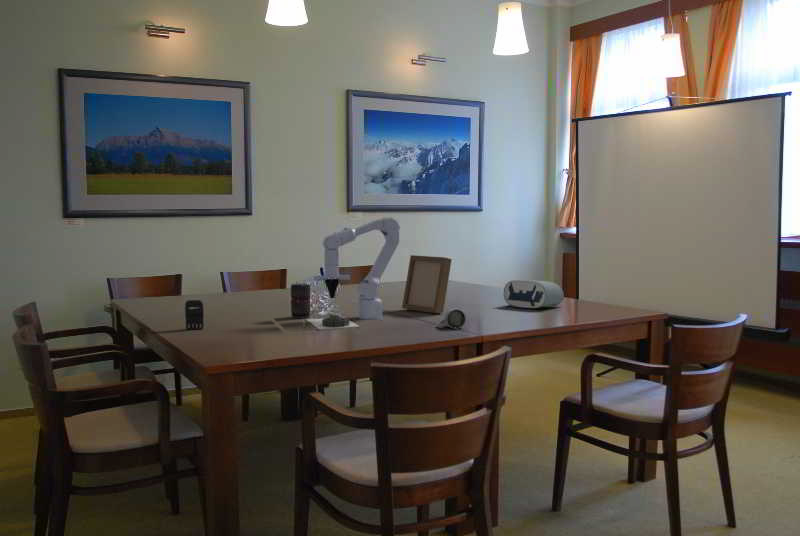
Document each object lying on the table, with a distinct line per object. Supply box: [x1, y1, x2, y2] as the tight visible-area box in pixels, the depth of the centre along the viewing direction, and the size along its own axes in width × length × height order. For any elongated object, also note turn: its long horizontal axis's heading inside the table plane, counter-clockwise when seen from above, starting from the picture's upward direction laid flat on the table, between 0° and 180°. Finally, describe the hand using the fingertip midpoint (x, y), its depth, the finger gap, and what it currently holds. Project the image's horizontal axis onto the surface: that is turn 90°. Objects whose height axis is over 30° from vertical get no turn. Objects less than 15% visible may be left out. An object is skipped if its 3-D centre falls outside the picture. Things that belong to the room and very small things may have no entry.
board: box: [305, 316, 361, 332], centre depth 272 cm, size 16×24×3 cm, turn 19°
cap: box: [328, 313, 343, 321], centre depth 266 cm, size 5×5×4 cm
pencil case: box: [503, 279, 565, 309], centre depth 322 cm, size 22×19×13 cm
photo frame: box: [401, 254, 453, 315], centre depth 309 cm, size 15×22×25 cm
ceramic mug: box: [436, 307, 467, 330], centre depth 265 cm, size 11×8×8 cm
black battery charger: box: [184, 299, 205, 330], centre depth 263 cm, size 7×4×11 cm, turn 106°
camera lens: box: [290, 283, 311, 320], centre depth 285 cm, size 8×8×15 cm
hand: (332, 297), depth 279 cm, fingers closed
